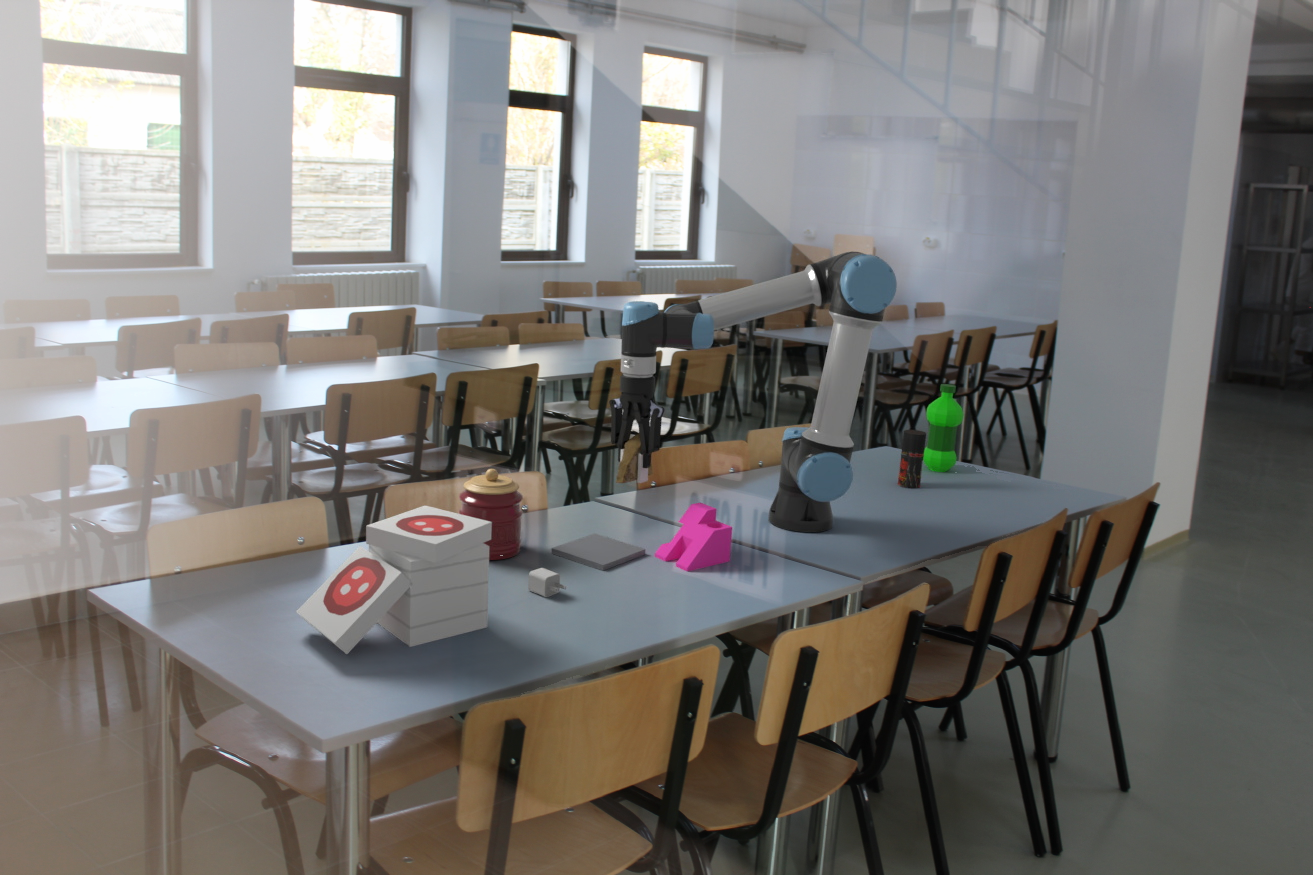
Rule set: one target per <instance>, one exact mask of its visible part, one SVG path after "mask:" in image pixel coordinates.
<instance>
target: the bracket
mask: <svg viewBox="0 0 1313 875" xmlns="http://www.w3.org/2000/svg"><path fill="white" fill-rule="evenodd" d="M717 511H718V510H717V508H716V507H712V506H710V505H709V504H706V503H703V502H696V503H691V504H690V505H689V507H688V508H687V509H686V511H685V512H684V514H682V516H681V517H680V518H679V520H678V523H680V524H682V526H681V527H680V528H679V530H678V532H676V533H675V535H674V537H673V538H672V539H671V541H670V542H666V543H661V545H660V546H659V547H658V549H657V550H656V551H655V553H654V557H655V558H657V559H659V560H661V561H662V562H668V561H673V560H677V561H676V564H675V567H677V568H679V569H680V570H683V571H686V572H691V571H695V570H700V569H703V568H708V567H712V566H715V565H716V566H717V565H720V564H721V565H722V564H723V563H728V562H731V561H730V560H731V549H732V548H731V547H732V536H733V526H732V525H728V524H726V523H724V522H720V521H719V520H717Z"/></svg>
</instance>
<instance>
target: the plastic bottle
mask: <svg viewBox="0 0 1313 875" xmlns="http://www.w3.org/2000/svg"><path fill="white" fill-rule="evenodd" d="M939 388H940V390H939V391H940V392H941V395H940V396H939V397H938V398H936V399H935V400H933V401H932V402H930V404H928V406H927V408H926V413H925V414H926V419H927V422H929V426H928V435H927V442H926V445H925V449H924V457H923V463H924V465H925V466H926V467H927V469H928V470H930V471H932V472H936V473H937V472H938V473H945V472H947V471H949V470H951V469H952V468H953V467H954V466H955V465H956V463H957V454H956V453H957V452H955V449H956V447H955V446H956V441H957V440H956V439H957V430H958V426H960V425H961V424H962V423H963V419H964V411H963V408H962V407H961V405H960V403H958V401H957V400H956V399H955V398H953V396H954V394H955V393H956V388H957V386H956V385H954V384H951V383H950V384H948V383H947V384H946V383H941V384H940V387H939Z"/></svg>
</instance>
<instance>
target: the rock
mask: <svg viewBox="0 0 1313 875" xmlns="http://www.w3.org/2000/svg"><path fill="white" fill-rule="evenodd" d="M640 452H642V450H641V442H640V434H639V433H637V434H635V435H633V436H632V437H630V439H629V441H628V442H626V443H625V450H624V453H623V457H622V460H621V462H619V464H618V470H617V475H616V479H615V483H618V484H625V483H626V484H627V483H630V482H635V481H637V480H638V455H639V453H640ZM653 474H654V472H653V464H652V463H651V466H650V467H649V468H648V477H649V476H652V475H653Z"/></svg>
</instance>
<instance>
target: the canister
mask: <svg viewBox="0 0 1313 875" xmlns="http://www.w3.org/2000/svg"><path fill="white" fill-rule="evenodd" d="M463 488H464V489H465V490H463V491H462V492H461V493H459V496H458V498H459V500H460V501H461V507H460V508H459V510H458V514H461V515H466V516H470V517H474V518H478V519H482V520H486V521H490V522H492V529H491V540H489V541H486V542H484V544H486V545H488V546H489V561H500V560H505V559H510V558H513V557H516V555H518V554H519V553H520V551H521V547H522V538H521V536H522V516H523V510H522V509H521V502H522V501H523V500H524V496H523V495H522V493H520V492H519V491H518V490H519V488H520V484H519V483H518V482H516V481H515V480H513V479H512V478H511V477H508V476H507V475H501V474H499V472H498V470H497V469H495V468H488V469H487V470H486V472H485V474H480V475H476V476H473V477H471V478H470V479H469V480H467V481H465V482H464V483H463ZM500 555H503V556H500Z"/></svg>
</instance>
